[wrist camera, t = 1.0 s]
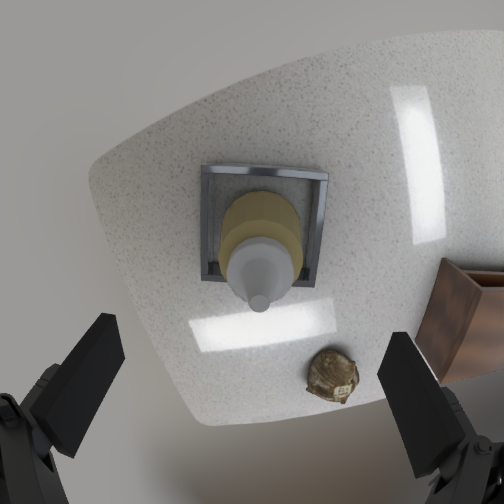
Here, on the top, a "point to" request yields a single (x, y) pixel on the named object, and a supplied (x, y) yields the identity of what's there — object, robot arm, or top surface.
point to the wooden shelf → (464, 324)
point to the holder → (208, 267)
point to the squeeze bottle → (260, 248)
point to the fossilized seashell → (332, 376)
